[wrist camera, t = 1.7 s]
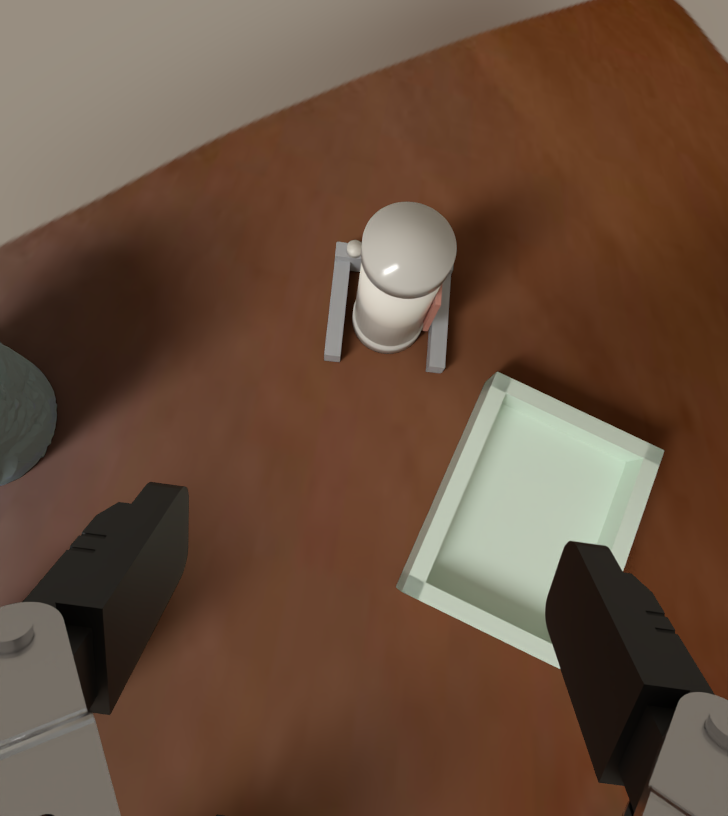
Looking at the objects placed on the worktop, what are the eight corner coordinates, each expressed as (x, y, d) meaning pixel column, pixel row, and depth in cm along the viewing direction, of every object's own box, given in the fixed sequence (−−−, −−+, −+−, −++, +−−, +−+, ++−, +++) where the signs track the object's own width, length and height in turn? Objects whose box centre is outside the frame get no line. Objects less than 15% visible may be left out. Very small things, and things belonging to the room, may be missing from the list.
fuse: (355, 284, 37) (366, 196, 27) (423, 292, 37) (459, 207, 28) (348, 349, 36) (357, 282, 26) (419, 357, 36) (453, 294, 27)
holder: (336, 255, 38) (337, 237, 35) (448, 268, 38) (455, 252, 36) (324, 360, 36) (324, 348, 34) (441, 373, 36) (448, 362, 34)
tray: (485, 382, 36) (497, 371, 34) (640, 456, 36) (664, 450, 33) (395, 587, 33) (401, 591, 31) (565, 669, 33) (585, 681, 30)
